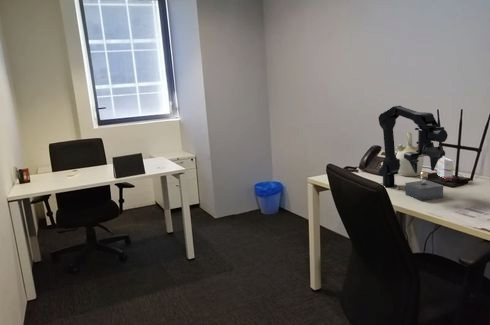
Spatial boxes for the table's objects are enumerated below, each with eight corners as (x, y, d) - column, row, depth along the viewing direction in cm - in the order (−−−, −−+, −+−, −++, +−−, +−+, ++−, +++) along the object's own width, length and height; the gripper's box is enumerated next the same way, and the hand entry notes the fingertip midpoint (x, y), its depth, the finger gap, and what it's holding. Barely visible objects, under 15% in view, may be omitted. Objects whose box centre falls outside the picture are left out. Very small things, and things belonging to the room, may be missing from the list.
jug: (392, 176, 232) (392, 134, 227) (399, 170, 244) (399, 130, 239) (420, 178, 223) (421, 134, 218) (425, 172, 235) (426, 130, 230)
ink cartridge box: (453, 181, 211) (454, 154, 209) (443, 182, 212) (444, 155, 209) (445, 177, 220) (446, 152, 217) (436, 178, 220) (437, 152, 217)
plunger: (409, 186, 194) (410, 171, 192) (425, 184, 195) (426, 169, 194) (421, 191, 185) (421, 175, 183) (438, 188, 187) (438, 173, 185)
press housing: (405, 194, 196) (405, 182, 194) (426, 191, 198) (426, 179, 197) (420, 201, 184) (421, 188, 183) (443, 197, 186) (443, 185, 185)
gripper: (418, 144, 176) (417, 177, 179) (454, 140, 180) (453, 172, 183) (403, 141, 187) (403, 172, 190) (437, 137, 190) (436, 168, 194)
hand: (424, 171), depth 189 cm, fingers open, 9 cm apart
